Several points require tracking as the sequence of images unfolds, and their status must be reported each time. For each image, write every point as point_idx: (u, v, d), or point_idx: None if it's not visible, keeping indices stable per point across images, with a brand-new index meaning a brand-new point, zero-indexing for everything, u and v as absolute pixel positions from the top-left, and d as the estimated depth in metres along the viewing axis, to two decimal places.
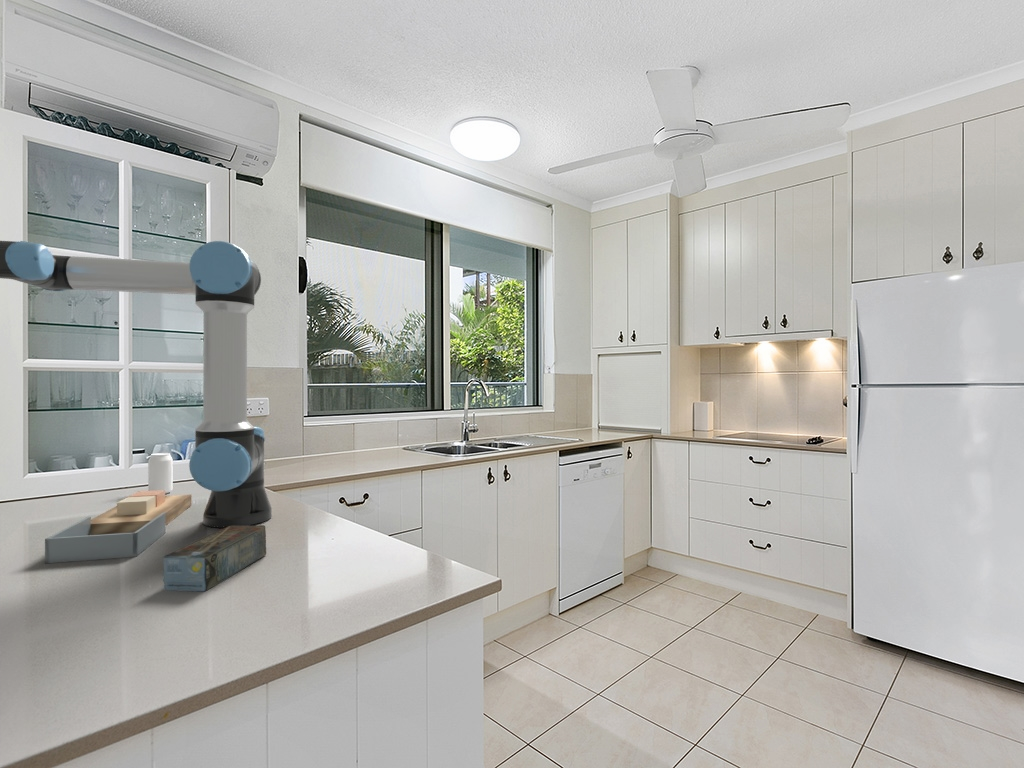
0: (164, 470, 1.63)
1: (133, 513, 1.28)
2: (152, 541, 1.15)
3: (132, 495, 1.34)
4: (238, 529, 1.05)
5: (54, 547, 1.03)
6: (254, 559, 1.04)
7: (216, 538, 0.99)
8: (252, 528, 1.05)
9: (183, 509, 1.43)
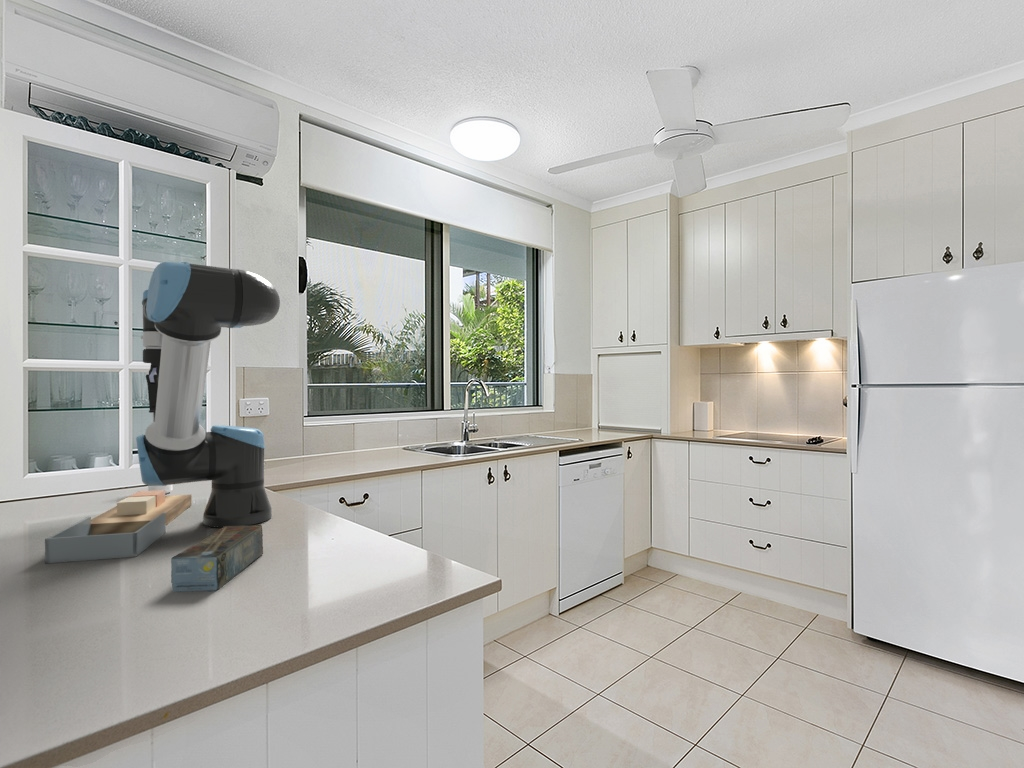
0: None
1: (133, 513, 1.28)
2: (152, 541, 1.15)
3: (132, 495, 1.34)
4: (236, 529, 1.05)
5: (54, 547, 1.03)
6: (254, 558, 1.04)
7: (218, 538, 0.99)
8: (250, 527, 1.06)
9: (183, 509, 1.43)
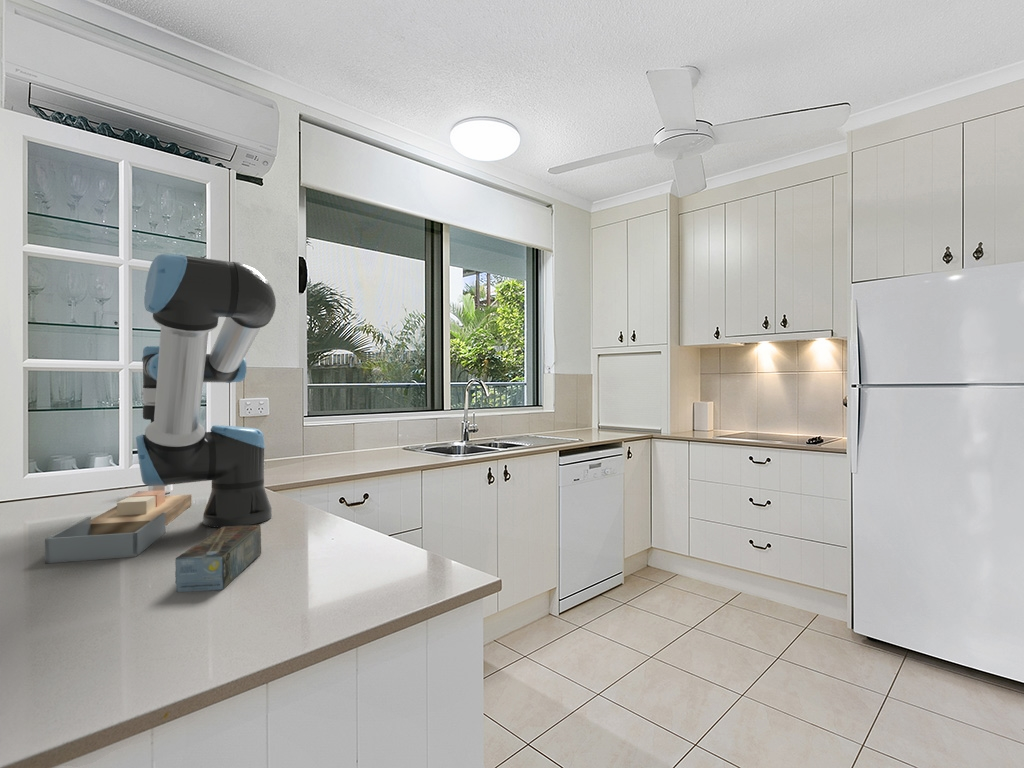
0: None
1: (133, 513, 1.28)
2: (152, 541, 1.15)
3: (132, 495, 1.34)
4: (235, 529, 1.05)
5: (54, 547, 1.03)
6: (254, 558, 1.04)
7: (219, 538, 0.99)
8: (249, 527, 1.06)
9: (183, 509, 1.43)
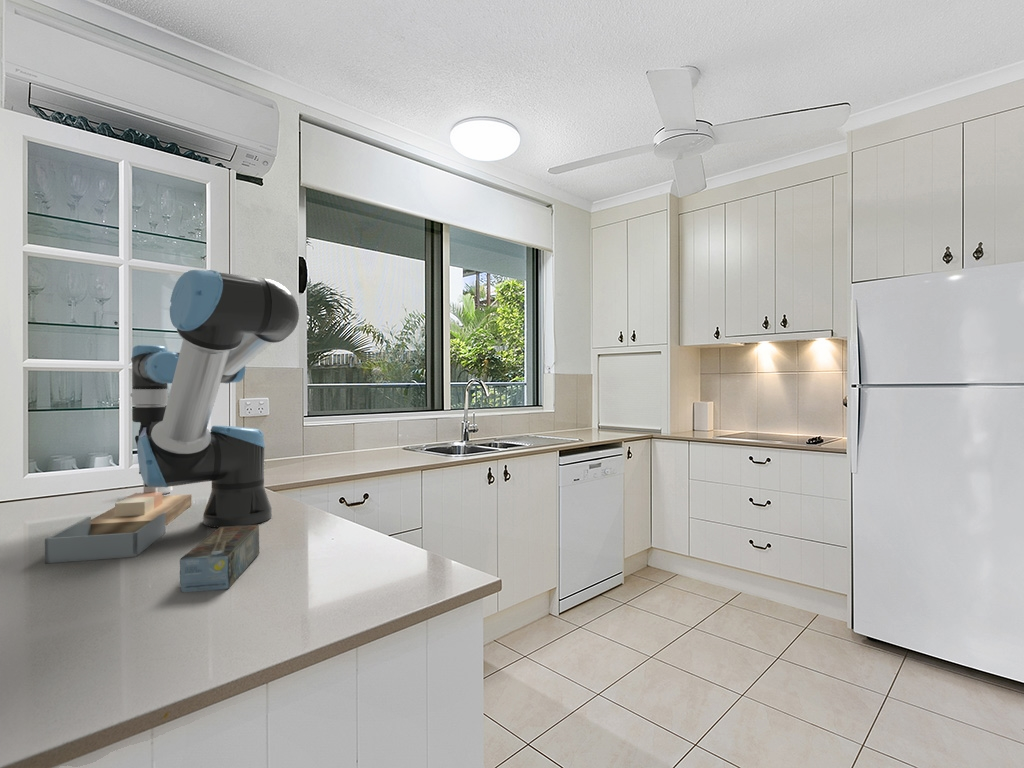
0: None
1: (131, 514, 1.27)
2: (152, 541, 1.15)
3: (129, 497, 1.32)
4: (234, 529, 1.05)
5: (54, 547, 1.03)
6: (253, 557, 1.05)
7: (220, 538, 0.99)
8: (249, 527, 1.06)
9: (183, 509, 1.43)
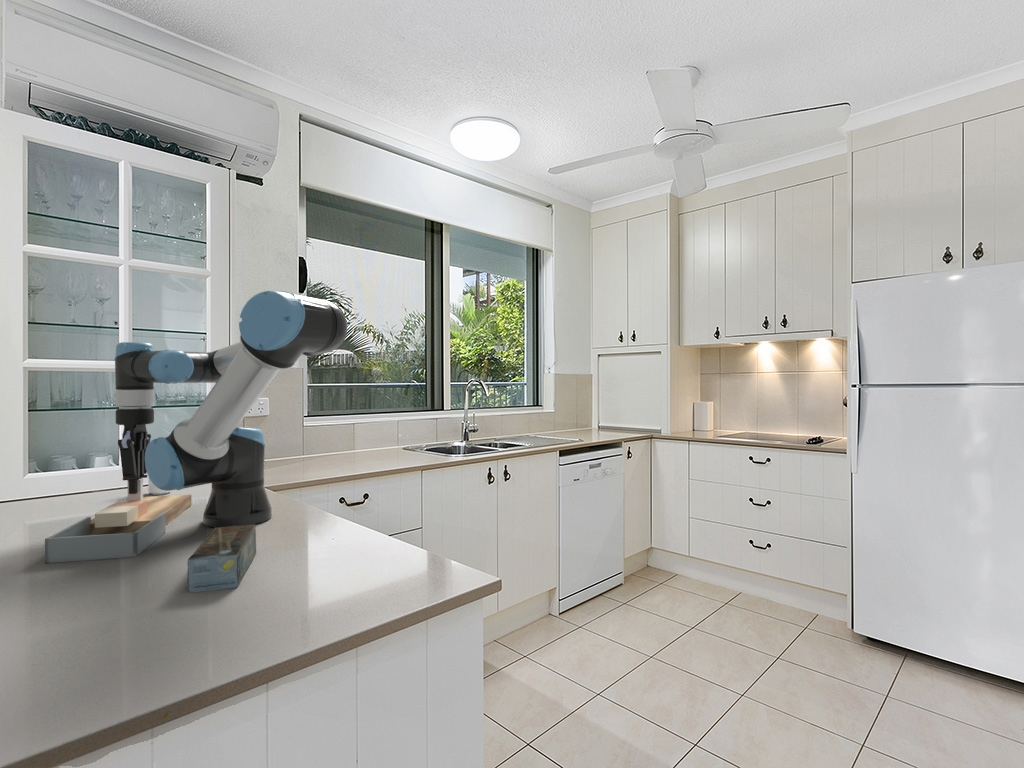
0: None
1: (112, 525, 1.17)
2: (152, 541, 1.15)
3: (110, 506, 1.23)
4: (233, 529, 1.05)
5: (54, 547, 1.03)
6: (253, 557, 1.05)
7: (221, 538, 0.99)
8: (247, 527, 1.06)
9: (183, 509, 1.43)
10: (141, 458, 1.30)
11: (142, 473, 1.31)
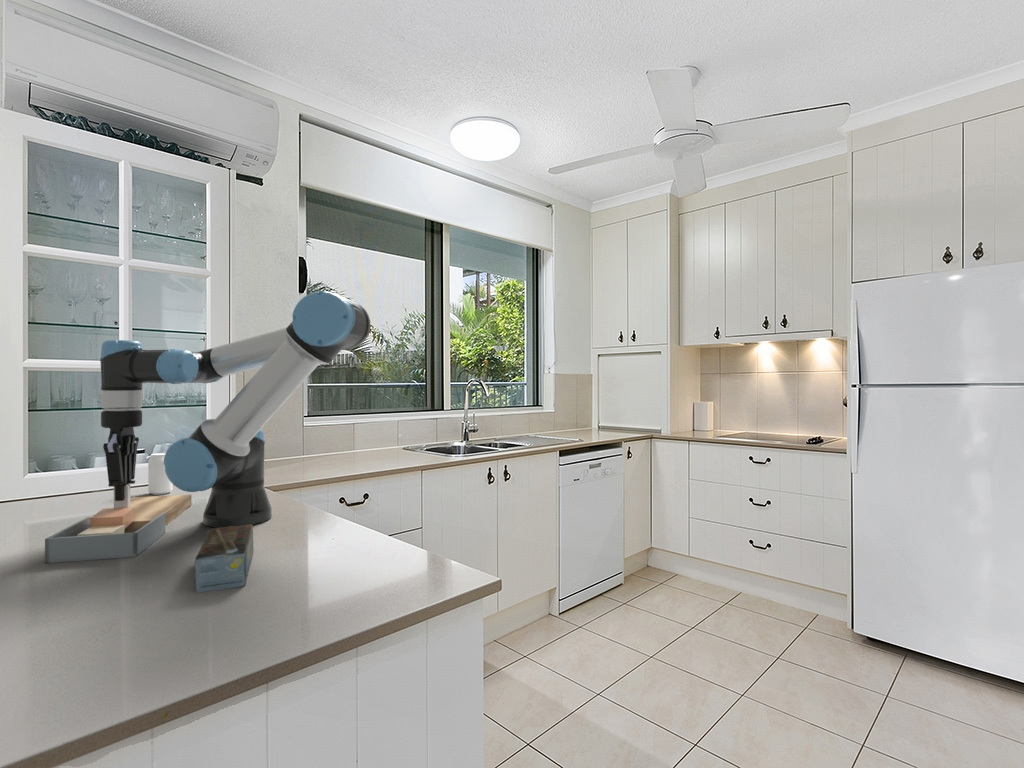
0: (164, 470, 1.63)
1: None
2: (152, 541, 1.15)
3: (94, 516, 1.16)
4: (232, 529, 1.04)
5: (54, 547, 1.03)
6: (252, 556, 1.05)
7: (223, 538, 0.99)
8: (245, 527, 1.06)
9: (183, 509, 1.43)
10: (128, 463, 1.23)
11: (129, 479, 1.23)
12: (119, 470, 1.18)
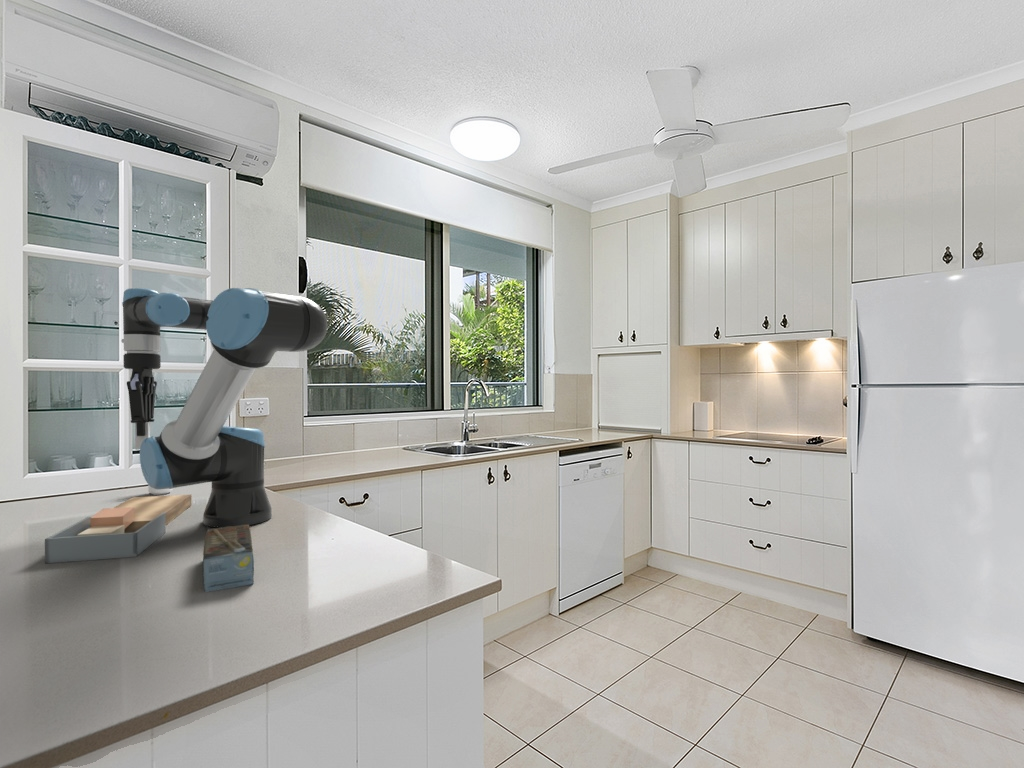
0: None
1: None
2: (152, 541, 1.15)
3: (94, 516, 1.16)
4: (230, 529, 1.04)
5: (54, 547, 1.03)
6: None
7: (224, 538, 0.99)
8: (243, 527, 1.06)
9: (183, 509, 1.43)
10: (148, 402, 1.34)
11: (149, 417, 1.35)
12: (141, 406, 1.29)
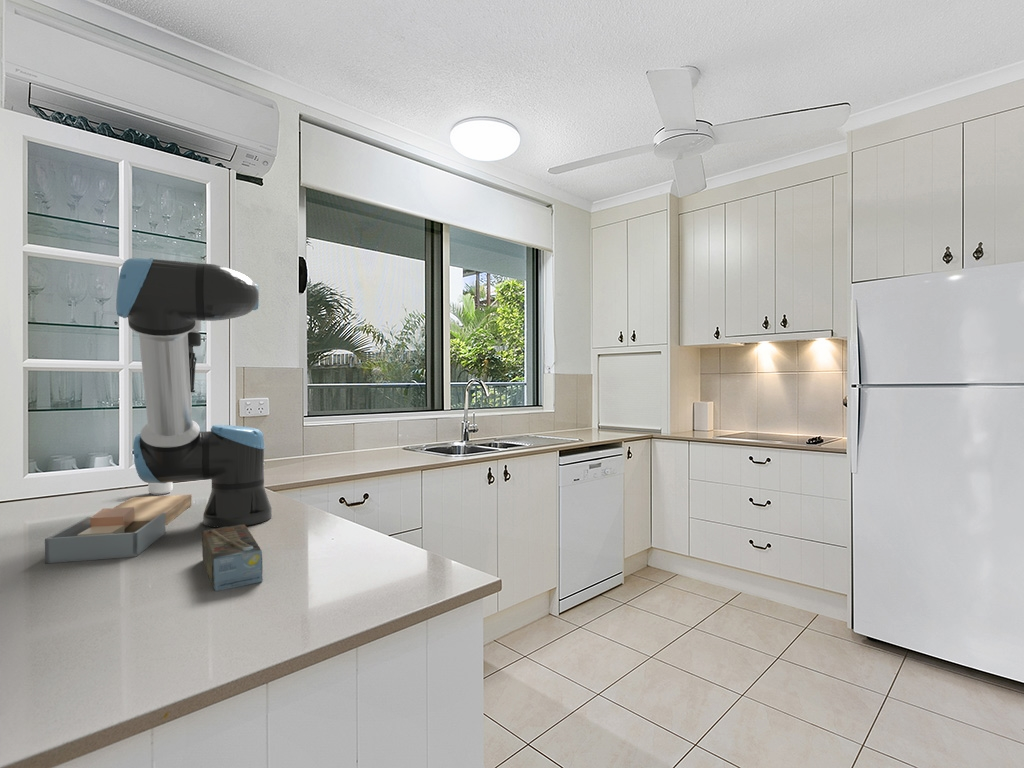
0: None
1: None
2: (152, 541, 1.15)
3: (94, 516, 1.16)
4: (228, 529, 1.04)
5: (54, 547, 1.03)
6: None
7: (226, 538, 0.99)
8: (241, 527, 1.06)
9: (183, 509, 1.43)
10: (190, 375, 1.53)
11: (191, 388, 1.54)
12: None
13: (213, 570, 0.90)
